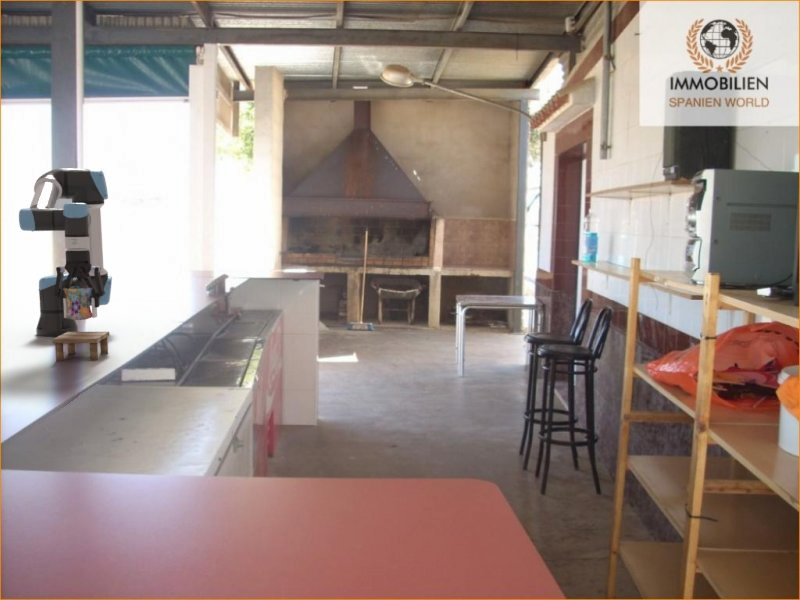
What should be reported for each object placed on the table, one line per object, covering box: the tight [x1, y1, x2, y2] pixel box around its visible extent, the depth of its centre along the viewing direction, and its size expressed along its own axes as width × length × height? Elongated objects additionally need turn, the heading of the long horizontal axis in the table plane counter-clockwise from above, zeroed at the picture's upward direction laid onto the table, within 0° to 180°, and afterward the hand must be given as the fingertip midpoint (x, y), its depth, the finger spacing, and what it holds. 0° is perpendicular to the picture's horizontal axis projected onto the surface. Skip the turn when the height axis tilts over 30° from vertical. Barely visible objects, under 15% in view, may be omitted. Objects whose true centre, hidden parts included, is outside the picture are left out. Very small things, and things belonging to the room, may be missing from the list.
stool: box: [52, 331, 110, 362], centre depth 257 cm, size 14×14×7 cm
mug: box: [63, 286, 93, 321], centre depth 255 cm, size 12×9×11 cm
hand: (80, 317), depth 256 cm, fingers closed on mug, 8 cm apart
